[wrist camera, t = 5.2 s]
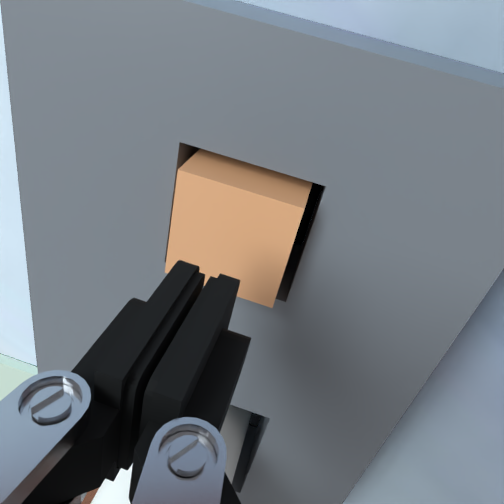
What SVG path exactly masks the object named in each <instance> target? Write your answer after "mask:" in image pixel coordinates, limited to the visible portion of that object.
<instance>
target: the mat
mask: <svg viewBox="0 0 504 504" xmlns="http://www.w3.org/2000/svg"><path fill="white" fill-rule="evenodd" d="M37 374H38V369H37V367H36V366H33V365H30V364H28V363H25V362H22V361H19V360H17V359H14V358H11V357H8V356H5V355H3V354H0V401H1V400H2V399H3V398H5V397H6V396H7V395H8V394H9V393H10V392H12V391H13V390H14V389H15V388H16V387H18V386H19V385H20V384H21V383H23V382H24V381H26V380H27V379H29V378H30V377H32V376H34V375H37Z"/></svg>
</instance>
